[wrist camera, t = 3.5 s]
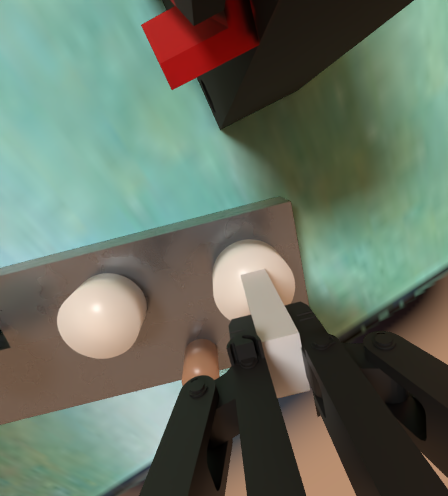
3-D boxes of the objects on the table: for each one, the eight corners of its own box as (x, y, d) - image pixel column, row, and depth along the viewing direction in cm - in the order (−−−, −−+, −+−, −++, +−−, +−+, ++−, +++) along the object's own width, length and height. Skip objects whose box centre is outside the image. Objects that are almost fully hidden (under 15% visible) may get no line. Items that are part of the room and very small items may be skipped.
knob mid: (104, 321, 24) (76, 366, 19) (81, 267, 22) (43, 300, 17) (162, 306, 24) (149, 348, 19) (142, 252, 22) (123, 279, 17)
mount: (7, 399, 26) (-17, 428, 23) (-63, 284, 23) (-102, 301, 20) (303, 325, 26) (316, 346, 23) (279, 196, 22) (290, 201, 19)
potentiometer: (190, 370, 23) (185, 425, 18) (180, 343, 22) (173, 393, 17) (221, 362, 23) (225, 415, 18) (213, 335, 22) (215, 383, 17)
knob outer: (220, 295, 23) (224, 334, 18) (204, 238, 22) (203, 262, 17) (279, 280, 23) (301, 315, 18) (267, 221, 22) (287, 241, 16)
